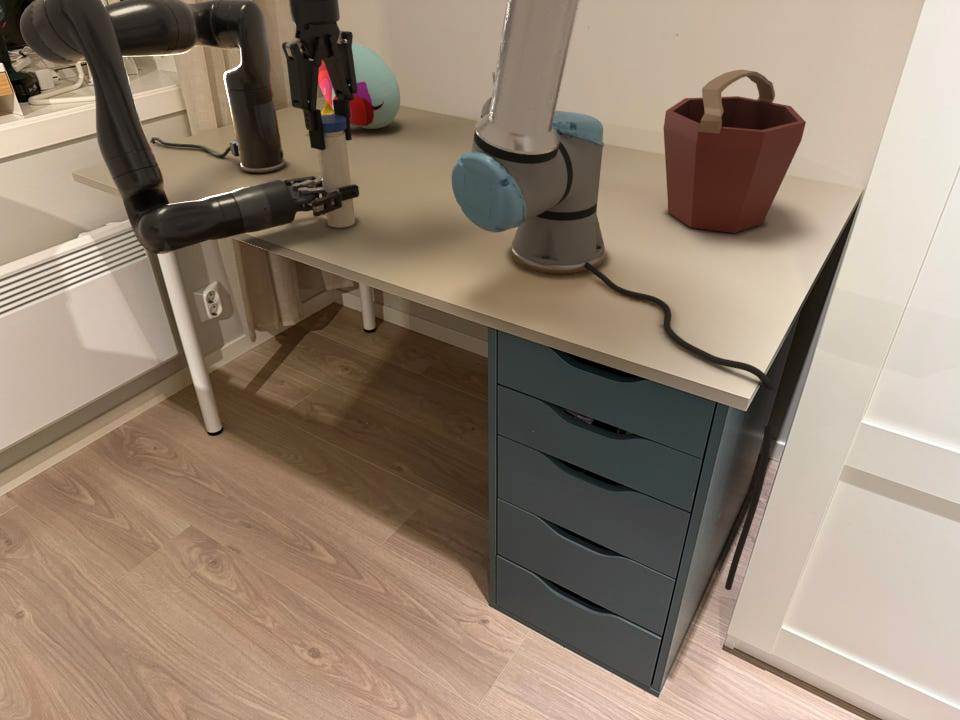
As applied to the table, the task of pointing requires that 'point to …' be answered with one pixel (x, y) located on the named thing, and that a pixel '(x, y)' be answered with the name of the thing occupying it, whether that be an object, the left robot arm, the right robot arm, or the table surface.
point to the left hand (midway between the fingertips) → (350, 185)
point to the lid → (333, 123)
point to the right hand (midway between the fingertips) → (331, 143)
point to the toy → (366, 90)
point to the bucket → (728, 154)
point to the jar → (336, 176)
